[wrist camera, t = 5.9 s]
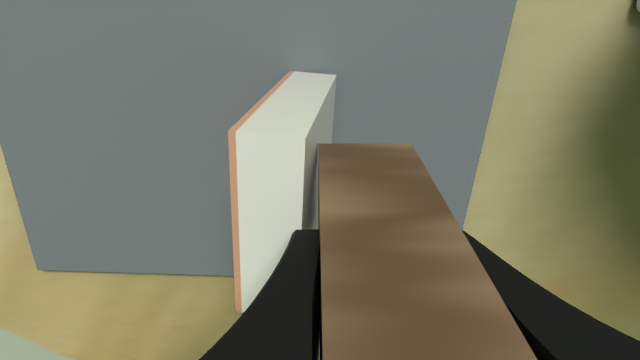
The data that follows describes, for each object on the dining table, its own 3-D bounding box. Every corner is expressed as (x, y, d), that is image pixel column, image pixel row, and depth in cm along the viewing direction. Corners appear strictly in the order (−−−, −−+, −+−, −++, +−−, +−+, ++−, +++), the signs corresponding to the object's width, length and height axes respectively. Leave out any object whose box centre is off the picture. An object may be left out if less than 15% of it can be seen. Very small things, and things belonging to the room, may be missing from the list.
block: (411, 143, 14) (554, 388, 5) (403, 222, 15) (508, 517, 7) (318, 143, 14) (323, 390, 5) (318, 223, 15) (321, 518, 7)
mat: (523, -49, 16) (528, -50, 16) (447, 278, 23) (449, 282, 23) (-59, -87, 16) (-68, -88, 15) (41, 265, 22) (37, 269, 22)
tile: (336, 74, 18) (305, 138, 10) (327, 200, 20) (297, 320, 13) (289, 71, 18) (228, 130, 11) (286, 195, 20) (235, 311, 13)
